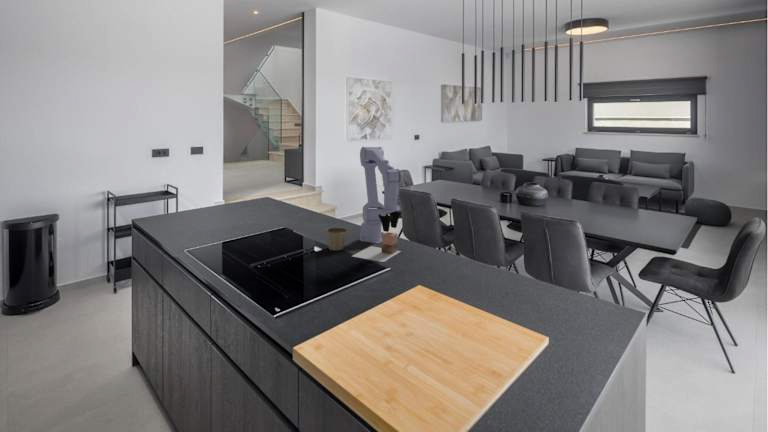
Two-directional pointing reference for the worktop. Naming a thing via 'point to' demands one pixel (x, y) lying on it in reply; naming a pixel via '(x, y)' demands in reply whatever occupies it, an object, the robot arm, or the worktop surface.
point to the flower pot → (336, 238)
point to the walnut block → (389, 248)
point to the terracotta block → (389, 238)
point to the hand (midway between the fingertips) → (389, 229)
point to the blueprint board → (374, 254)
